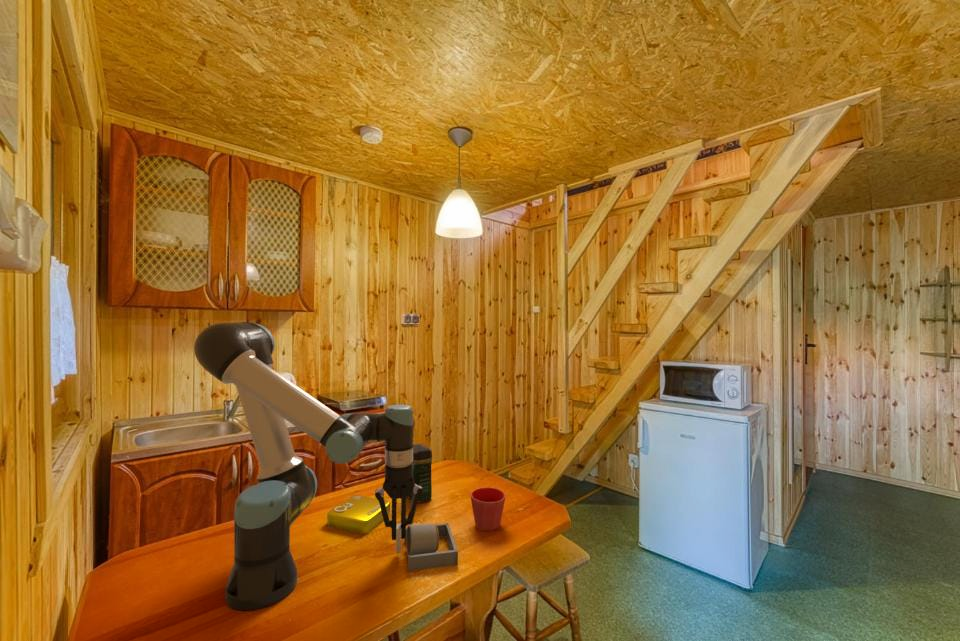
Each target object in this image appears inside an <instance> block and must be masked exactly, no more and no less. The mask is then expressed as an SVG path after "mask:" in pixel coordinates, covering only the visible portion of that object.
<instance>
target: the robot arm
mask: <svg viewBox="0 0 960 641" xmlns="http://www.w3.org/2000/svg"><path fill="white" fill-rule="evenodd" d="M194 341H195V342H194V345H193V350H194V351H193V352H194V356H195V358H196V360H197V362H198V364H200V366H201V367H202V368H203V369H204V370H205V371H206V372H207V373H209V374H210V375H211V376H213V377H214V378H216V379H217V380H219V381H220V382H222V384H225V385H227V384H228V385H229V384H233V385H234V386H235V388H236V390H237V394H238V397H239V401H240V403H241V406H242V411H243V413H244V414H243V415H244V417H245V419H246V423H247V426H248V430H249V432H250V437H251V439H252V442H253V446H254V449H255V452H256V456H257V460H258V462H259V465H260V470H259V473H257V476H256V478H257V483H256V484H255V485H253V484H252V485H250V486H249V487H247V488H246V489H244V490H243V491H242V492H241V493H240V494H239V495H238V496H237V498H236V499H235V504H234V510H233V521H234V523H233V526H234V528H233V530H234V531H233V532H234V535H233V537H234V538H233V542H234V548H233V549H234V551H233V552H234V558H233V559H234V560H233V564H232V568H231V571H230V574H229V576H228V579H227V582H226V586H225V591H224V594H225V595H224V599H225V600H224V601H225V603H226V605H227V606H228V607H229V608H231V609H234V610H239V611H254V610H258V609H259V610H260V609H262V608H266V607H269V606H271V605H273V604H276V603H277V602H279V601H281V600H283V599H284V598H286V597H287V596H288V595H290V593H292V592H293V590H294V589H295V587H296V586H297V582H298V568H297V565H296V563H295V560H294V556H293V555H292V553H291V549H290V547H291V546H290V544H291V542H290V541H291V540H290V539H291V538H290V537H291V534H290V533H291V525H292V524H293V523H294V522H295V521H296V520H297V519H298V518H299V516H300V515H301V514H302V513H303V511H304V510H306V509H307V508H308V507H309V506H310V505H311V502H312V501H313V499H314V498H315V496H316V493H317V491H318V490H317V489H318V479H317V477H316V476H317V475H316V474H315V472H314V471H313V470H312V468H309V467H308V466H307V465H306V464H305V461H304V459H303V457H300V456H298V455H296V453H295V450H294V449H295V448H294V446H293V442H292V439H291V437H290V436H291V435H290V433H289V430H288V427H287V423H286V421H287V422H288V423H289V424H291V425H293V426H294V427H296V428H297V429H299V431H302V432H303V433H305V434H306V435H307V436H309V437H310V438H312V439H314V440H315V441H317V443H319V444H321V445H322V446H323V447H324V448H325V454H326V455H327V457H328V458H329V460H331V462H334V463H336V464H339V465H341V464H343V465H344V464H347V463H350V462H352V461H353V460H354V459H355V458H356V457H357V456H358V455H359V456H360V454H361V452H362V451H363V449H364V448H365V447H366V445H367V444H369V443H381V442H382V443H384V464H385V466H384V481H383V483H382V487H380V488H379V489H378V488H377V489H375V490H374V497H375V498H376V499H377V500H378V501H379V504H380V508H381V512H382V516H383V523H384V527H386V528H390V529H391V540H392V541H395V555H396V554H401V553H402V540H403V539H404V540H405V534H406V528H407V527H408V526H409V525H413V522H414V518H415V514H416V511H417V507H418V503H419V502H418V499H419V496H420V495H421V493H422V492H423V490H422V486H420V485H419V486H418V485H416V484H415V482H414V480H413V463H412V462H413V445H414V426H415V425H414V424H415V421H414V410H413V408H412V407H411V405H407V404H392V405H387V406H386V408H385V411H384V412H383V413H382V412H381V413H373V412H371V413H367V412H365V413H364V412H361V413H360V412H352V413H351V412H350V413H344V414H342V415H339V414H338V413H337V412H336V411H333V410H332V409H331V408H330V407H328V406H326V405H325V404H324V403H322V402H321V401H320V400H318V399H316V398H315V397H314V396H312V395H311V394H309V393H308V392H307V391H305V390H303V389H302V388H301V387H299V386H298V385H296V384H295V383H293V382H292V381H290V379H287V377H285V376H283V375H282V374H280V373H279V372H277V371H276V370H274V369H273V367H274V366H275V364H274V359H273V357H272V355H273V352H274V351H275V345H276V344H275V343H276V342H275V339H274V336H273V334H272V332H271V331H270V330H269V329H268V328H267V327H265V326H263V325H261V324H259V323H255V322H250V321H242V322H220V323H219V322H218V323H215V324H211V325H209V326H207V327H206V328H204V329H203V330H201V331H200V333H199V334H198V335H197V337H196V339H195V340H194ZM412 489H413V492H414V494H413V498H412V501H411V503H410V507H409V511H408V514H407V498H408V497H407V496H408V495H409V493H410V492H411V491H412ZM385 494H387V496H388V497H389V499H391V519H390V518H389V516H388V513H387V509H386V505H385V501H384V500H385V498H384V496H385ZM398 499H400V523H397V519H398V518H397V513H398V512H397V508H398V507H397V504H398V502H397V500H398Z"/></svg>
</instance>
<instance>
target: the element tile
mask: <svg viewBox="0 0 960 641" xmlns="http://www.w3.org/2000/svg"><path fill="white" fill-rule="evenodd" d="M384 501H385V505H386V509H387V513H388V517H389V516H390V515H391V502H390V501H389V500H385V499H384ZM326 519H327V520H326V526H327V527H328V528H332V529H336V530H341V531H345V532H349V533H353V534H358V535H366V534H368V533H370V532H371V531H372V530H374V529H375V528H376V527H377V526H378V525H380V524H381V523H382V522H384V520H383V516H382V512H381V508H380V504H379V501H378V500H377V498H376V497H375V498H374V497H369V496H363V495H359V494H354V495H352V496H350V497H349V498H347V499H346V500H343V501H342V502H341V503H339V504H338V505H336V506H335V507H332V508H331V509H329V510H328V511H327V514H326Z"/></svg>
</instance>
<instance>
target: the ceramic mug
mask: <svg viewBox="0 0 960 641" xmlns="http://www.w3.org/2000/svg"><path fill="white" fill-rule="evenodd" d="M406 528H407V534H406V541H405V544H406V553H407V556H411V555H419V554H427V553H435V552H438V549H439V547H440V537H439V532H438V528H437V526H436V525H435V524H434V523H425V524H424V523H423V524H411V525H407V526H406Z"/></svg>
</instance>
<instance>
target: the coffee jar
mask: <svg viewBox="0 0 960 641" xmlns="http://www.w3.org/2000/svg"><path fill="white" fill-rule="evenodd" d="M432 461H433V451H432V449H430V448H429V447H427V446H425V445H423V444H421V443H417V444H413V462H412V463H413V480H414V482H415V484H416V485H418V486H419V485H420V486H422V490H423V492H422V493H421V495H420V496H419V499H418V503H425V502H427V501H429V500H431V499H432V496H433V495H432V486H433V485H432ZM413 494H414V492H413V489H412V491H411V492H410V493H409V495H408V496H407V497H406V498H408V500H409V501H411V502H412V498H413Z"/></svg>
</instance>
